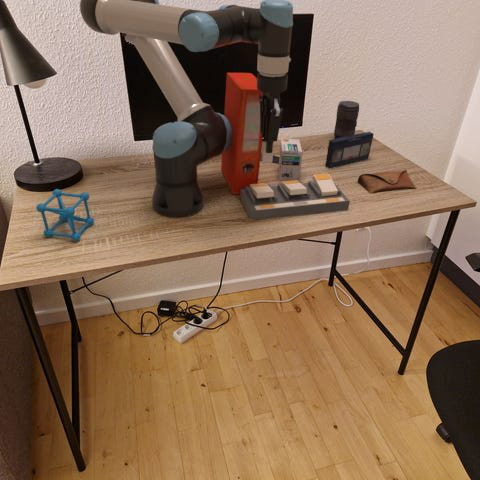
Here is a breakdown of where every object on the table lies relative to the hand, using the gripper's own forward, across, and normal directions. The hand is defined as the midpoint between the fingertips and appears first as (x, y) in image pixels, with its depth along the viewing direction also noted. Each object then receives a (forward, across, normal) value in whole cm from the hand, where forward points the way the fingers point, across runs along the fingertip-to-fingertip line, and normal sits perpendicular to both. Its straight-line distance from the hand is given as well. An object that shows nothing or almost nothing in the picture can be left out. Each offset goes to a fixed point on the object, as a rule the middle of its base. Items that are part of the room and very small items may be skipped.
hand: (266, 161), depth 119 cm
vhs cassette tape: (+16, +26, -39) cm, 49 cm away
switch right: (+10, +2, -20) cm, 22 cm away
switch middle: (+10, +3, -10) cm, 14 cm away
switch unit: (+15, +2, -10) cm, 18 cm away
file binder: (+15, +19, +3) cm, 24 cm away
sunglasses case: (+16, +7, -45) cm, 48 cm away
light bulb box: (+16, +21, -15) cm, 30 cm away
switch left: (+10, +3, 0) cm, 11 cm away
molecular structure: (+15, 0, +54) cm, 56 cm away
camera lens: (+16, +44, -46) cm, 66 cm away
